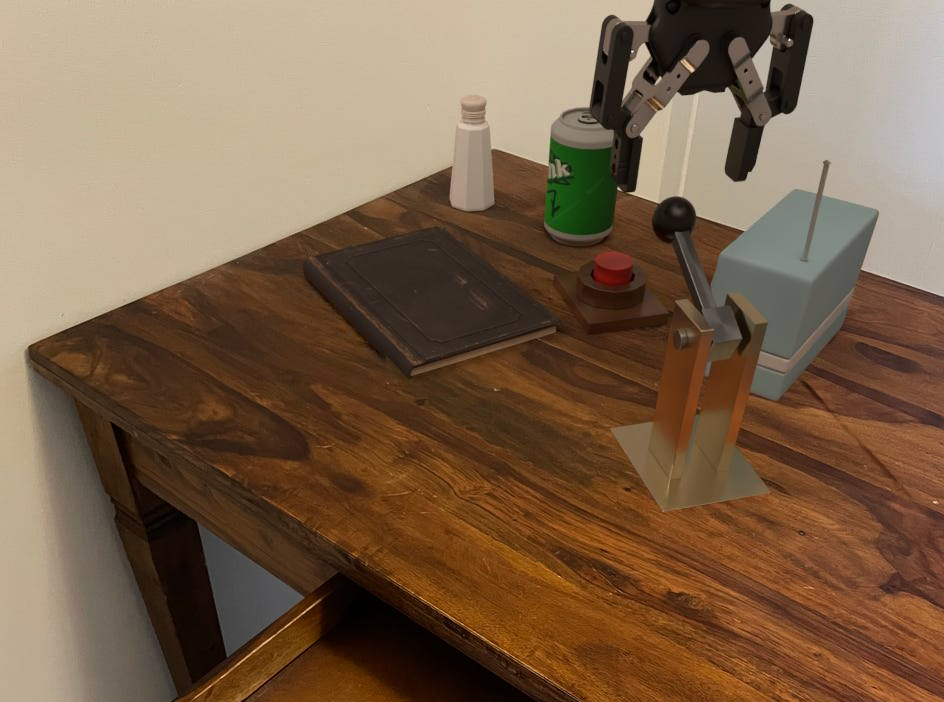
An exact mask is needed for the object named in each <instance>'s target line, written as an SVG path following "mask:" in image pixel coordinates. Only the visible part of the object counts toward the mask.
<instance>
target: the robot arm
mask: <svg viewBox="0 0 944 702" xmlns="http://www.w3.org/2000/svg"><path fill="white" fill-rule="evenodd" d="M771 2H772V0H653V4H652V6H651V9H650V11H649V14H648V15H647V17H646V19H645V20H622V19H620V18H619V17H618V16H617V15H615V14H609V15H606V17H604V19H603V21H602V23H601V28H600V35H599V40H598V48H597V53H596V54H597V55H596V60H595V67H594V74H593V79H592V87H591V93H590V100H589V106H588V107H589V112H590V114H591V115H592V116H593V117H594V118H595V119H596V120H597V121H598V122H599V123H600V124H601V125H602V126H603V127H604V128H605V129H606V130H614V136H613V145H612V153H611V162H610V169H609V170H610V174H611V177H612V179H613V180H614V181H615V182H616V185H617V186H618V189H619V190H620V191H621V192H622V193H623V194H630V193H635V192H636V190H637V185H638V178H639V171H640V163H641V158H642V157H641V156H642V151H643V150H642V149H643V142H644V137H643V136H641V133H642V132H643V131H644V129H645V128H647V126H648V124H649V123H650V122H651V121H652V119H653V118H654V116H655V115H656V114H657V112H659V111H662V110H664V109H665V108H666V107H667V106H668V105H669V104H670V102H671V100H672V99H673V98H674V97H675V96H676V94H677V93H678V94H679V95H680V96H681V97H684V96H693V95H696V94H698V93H701V92H709V93H713V94H719V93H720V94H721V93H726V89H729V91H730V93H731V95H732V97H733V99H734V102H735V103H736V106H737V108H738V110H739V112H740V116H738V117H734V118H733V124H732V128H731V134H730V138H729V143H728V147H727V152H726V158H725V163H724V173H725V175H726V176H727V177H728V178H729V179H730V180H731V181H732V182H734V183H738V182H740V183H741V182H745V181H747V178H748V174H749V173H752V172H753V170H754V168H755V167H756V164H757V160H758V155H759V152H760V147H761V143H762V137H763V133H764V129H765V127H766V125H767V124H768V123H769V122H770V120H771V119H773V118H774V117H777V116H778V115H780V114H781V115H782V114H783V115H790V114H792V113H793V112H794V111H795V110H796V108H797V106H798V104H799V103H798V102H799V98H800V97H799V96H800V92H801V87H802V81H803V78H804V72H805V68H806V62H807V56H808V53H809V47H810V42H811V38H812V33H813V27H814V17H813V15H812V14H810V13H808V12H807V11H806V10H804V9H803V8H801V7H799V6H797V5H794V4H792V3H786V4H784V5H783V6H782V7H781V9H780V10H777V11H771V10H772V9H771ZM768 39H769V44H770V45H771V46H772V50H771V56H770V62H769V68H768V73H767V79H766V85H765V87H764V85H763V82H762V80H761V77H760V75H759V73H758V70H757V68H756V66H755V63H754V61H753V59H754V57H755V56H756V55H757V53H758V52H759V50H760V49H761V48H762V46H763V45H764V44H765V43H766V41H768ZM643 44H645V47H646V49H647V51H648V53H649V57H648V58H647V60H646V61H645V63H644V64H643V66H642V67H641V68H640V70H639V71H638V73H637V74H636V75H635V77H634V78H633V79H632V82H631V88H630V90H629V91H628V92H627V94H626V95H625V96H624V93H625V89H626V82H627V77H628V71H629V64H630V62H632V61H633V60H635V59H636V57H637V55H638V52H639V49H640V47H641V46H642V45H643ZM660 78H661V79H660ZM659 79H660V80H659ZM658 80H659V81H658ZM657 81H658V82H657ZM764 88H765V89H764Z"/></svg>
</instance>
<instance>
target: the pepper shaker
mask: <svg viewBox="0 0 944 702" xmlns="http://www.w3.org/2000/svg"><path fill="white" fill-rule="evenodd" d="M487 103H488V102H487V99H486V98H485V97H484V96H481V95H480V94H468V95H465V96H463V97H461V99H460V107H461V108H460V110H461V111H460V112H461V113H460V115H461V119H460V120H459V121H457V122H456V128H455V134H454V135H455V136H454V147H453V156H452V157H453V158H452V167H451V177H450V185H449V186H450V188H449V196H448V197H449V198H448V199H449V202H450V205H451V207H452V208H454V209H457V210H460V211H463V212H466V213H467V212H469V213H470V212H484V211H486V210H488V209H490V208H492V207H493V206H495V205H496V203H495V189H494V173H493V172H494V171H493V170H494V169H493V156H492V139H491V127H490V124H489V121H487V120H486V112H487V110H486V106H487Z"/></svg>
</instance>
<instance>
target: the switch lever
mask: <svg viewBox="0 0 944 702" xmlns="http://www.w3.org/2000/svg"><path fill="white" fill-rule="evenodd" d="M696 224H697V212H696V209H695V207H694V205H693V203H692V202H691V201H690V200H688V198H685V197H683V196H680V195H679V196H678V195H676V196H675V195H674V196H670V197H667V198H665V199H663V200H662V201H661V202H660V203H658V205H657V206H656V207H655V209H654V211H653V214H652V218H651V226H652V230H653V232H654V235H655V236H656V237H657V238H658V239H659V241H661V242H663V243H666V244H670V245H671V246H672V248H673V251H674V254H675V256H676V259H677V262H678V265H679V268H680V270H681V273H682V276H683V278H684V281H685V285H686V286H687V290H688V293H689V294H690V298H691V300H692V304H693V305H694V306H695V308H696V309H697V310H698V311H699V312H700V313H701V315H702V316H703V317H704V318H705V319H706V320H707V321H708V323H709V324H710V325H711V326H712V327H713V328H714V334H713V338H712V343H711V347H710V352H709V356H708V361H707V362H711V361H718V360H724V359H730V357H731V356H732V354H733V353H734V351H735V349H736V348H737V346H738V345H739V343H740V342H741V340H742V336H741V333H740V330H739V328H738V325H737V322H736V320H735V317H734V314H733V312H732V309H731V306H730V305H729V306H722V307H717V306H716V303H715V300H714V298H713V295H712V292H711V287H710V284H709V282H708V278H707V276H706V274H705V271H704V267H703V264H702V262H701V260H700V257H699V254H698V252H697V249H696V246H695V244H694V241H693V238H692V236H691V235H692V233H693V232H694V231H695V227H696Z"/></svg>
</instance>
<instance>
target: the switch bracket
mask: <svg viewBox="0 0 944 702" xmlns="http://www.w3.org/2000/svg"><path fill="white" fill-rule="evenodd" d="M729 305H730V306H731V309H732V312H733V314H734V317H735V320H736V322H737V325H738V328H739V330H740V333H741V336H742V340H741V342H740V343H739V345H738V346H737V348H736V349H735V351H734V353H733V354H732V356H731V357H730V359H724V360H718V361H712V362H711V366H710V371H709V375H708V377H707V379H706V385H705V389H704V394H703V397H702V402H701V406H700V411H699V413H698V414H697V410H698V405H699V401H700V397H701V393H702V387H703V382H704V378H705V376H704V374H705V370H706V365H707V361H708V356H709V352H710V347H711V343H712V338H713V334H714V328H713V327H712V326H711V325H710V324H709V323H708V321H707V320H706V319H705V318H704V317H703V316H702V315H701V313H700V312H699V311H698V310H697V309H696V308H695V306H694V303H693V302H691V301H690V299H688V298H683V299H675V301H674V306H673V312H672V316H671V322H670V328H669V334H668V338H667V344H666V349H665V355H664V360H663V364H662V365H663V366H662V370H661V377H660V382H659V386H658V387H659V388H658V392H657V397H656V402H655V403H656V404H655V408H654V414H653V419H652V421H647V422H641V423H634V424H633V423H632V424H628V425H627V424H626V425H622V426H614V427H610V428H609V431H610V432H611V434H612V436H613V437H614V439H615V441H616V442H617V444H618V446H619V447H620V449H621V450H622V452H623V453H624V455H625V457H626V458H627V459H628V461H629V462H630V464H631V466H633V469H634V470H635V472H636V473H637V475H638V476H639V478H640V480H641V482H642V484H644V486H645V488H646V489H647V490H648V492H649V494H650V495H651V497H652V498H653V500H654V502H655V503H656V505H657V506H658V508H659V509H660V511H661V512H662V513H668V512H669V513H670V512H675V511H681V510H687V509H691V508H698V507H704V506H708V505H709V506H710V505H714V504H720V503H726V502H731V501H736V500H742V499H743V500H744V499H749V498H754V497H760V496H767V495H771V494H772V491H771V489H769V487H768V486H767V484H765V482H764V481H763V479H762V478H761V476H759V474H758V473H757V472H756V470H755V469H754V468H753V466H752V465H751V464H750V462H749V461H748V459H746V457H745V456H744V455H743V453H741V451H740V450H739V449H738V447H737V446H736V445H737V440H738V438H739V437H738V436H739V433H740V430H741V426H742V422H743V418H744V414H745V411H746V408H747V407H746V406H747V403H748V399H749V396H750V393H751V392H750V389H751V385H752V381H753V377H754V374H755V370H756V366H757V362H758V359H759V355H760V351H761V348H762V344H763V340H764V336H765V333H766V329H767V325H768V321H767V320H766V319H765V318H764V317H763V316H762V315H761V314H760V313H759V312H758V311H757V310H756V308H755V307H754V306H753V305H752V304H751V303H750V302H749V301H748V300H747V299H746V298H745V297H744V296H743V295H742V294H741V293H740V292H733V293H727V296H726V300H725V305H724V306H729Z"/></svg>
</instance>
